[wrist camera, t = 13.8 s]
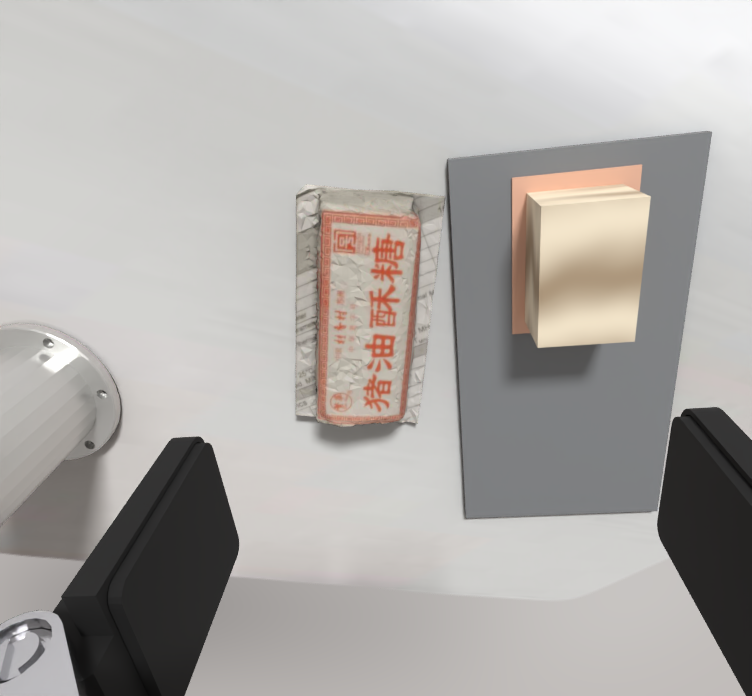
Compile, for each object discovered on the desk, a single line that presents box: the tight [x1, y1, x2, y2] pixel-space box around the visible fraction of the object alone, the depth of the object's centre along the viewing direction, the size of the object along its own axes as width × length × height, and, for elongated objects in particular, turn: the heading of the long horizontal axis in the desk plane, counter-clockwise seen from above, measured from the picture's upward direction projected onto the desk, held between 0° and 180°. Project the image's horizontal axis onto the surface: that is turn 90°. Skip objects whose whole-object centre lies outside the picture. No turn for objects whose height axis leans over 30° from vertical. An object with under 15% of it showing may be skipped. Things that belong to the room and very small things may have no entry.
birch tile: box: [525, 184, 651, 348], centre depth 34 cm, size 9×6×4 cm, turn 6°
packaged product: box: [296, 184, 445, 427], centre depth 38 cm, size 18×5×10 cm
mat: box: [448, 131, 712, 518], centre depth 40 cm, size 16×30×1 cm, turn 6°
